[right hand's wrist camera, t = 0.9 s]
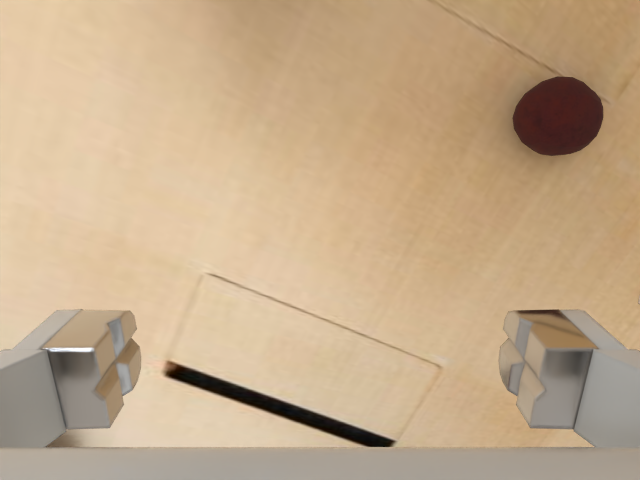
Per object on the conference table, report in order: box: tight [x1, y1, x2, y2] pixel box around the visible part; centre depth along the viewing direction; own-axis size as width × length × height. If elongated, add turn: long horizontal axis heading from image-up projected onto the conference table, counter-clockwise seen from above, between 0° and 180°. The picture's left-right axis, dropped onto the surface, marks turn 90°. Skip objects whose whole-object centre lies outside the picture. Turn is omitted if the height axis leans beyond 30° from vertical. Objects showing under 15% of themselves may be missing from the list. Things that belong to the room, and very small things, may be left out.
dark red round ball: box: [513, 77, 603, 156], centre depth 44 cm, size 7×8×7 cm
